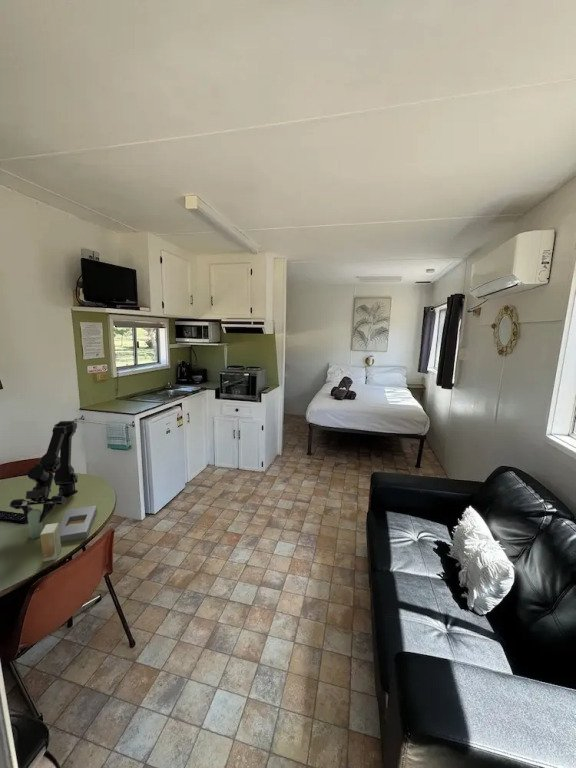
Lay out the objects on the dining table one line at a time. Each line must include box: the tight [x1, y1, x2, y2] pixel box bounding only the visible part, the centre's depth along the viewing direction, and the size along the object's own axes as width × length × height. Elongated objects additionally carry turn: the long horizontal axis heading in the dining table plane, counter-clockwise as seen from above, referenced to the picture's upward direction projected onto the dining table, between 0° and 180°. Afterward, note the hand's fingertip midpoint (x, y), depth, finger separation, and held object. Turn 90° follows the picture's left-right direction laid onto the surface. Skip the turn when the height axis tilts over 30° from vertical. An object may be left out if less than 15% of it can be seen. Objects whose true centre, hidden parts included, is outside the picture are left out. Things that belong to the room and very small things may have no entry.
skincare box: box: [39, 522, 62, 563], centre depth 119 cm, size 6×4×12 cm
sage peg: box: [27, 508, 44, 539], centre depth 130 cm, size 4×4×12 cm
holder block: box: [59, 505, 98, 543], centre depth 137 cm, size 20×12×3 cm, turn 21°
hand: (33, 523), depth 128 cm, fingers closed on sage peg, 4 cm apart
